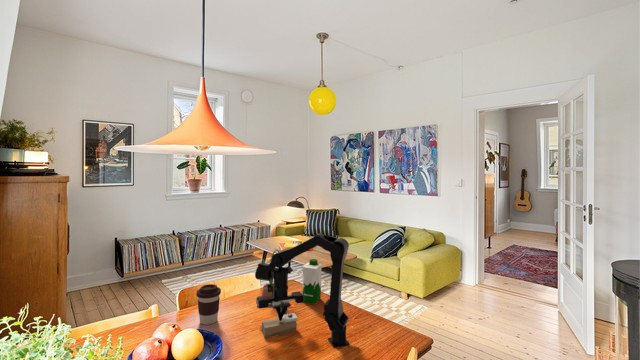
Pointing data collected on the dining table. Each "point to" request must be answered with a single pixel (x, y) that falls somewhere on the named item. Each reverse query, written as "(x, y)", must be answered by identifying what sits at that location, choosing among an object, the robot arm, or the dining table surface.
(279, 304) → the lever
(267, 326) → the grey lever base
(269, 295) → the potted flower
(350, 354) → the dining table surface
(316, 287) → the milk carton
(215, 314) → the coffee cup
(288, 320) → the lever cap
